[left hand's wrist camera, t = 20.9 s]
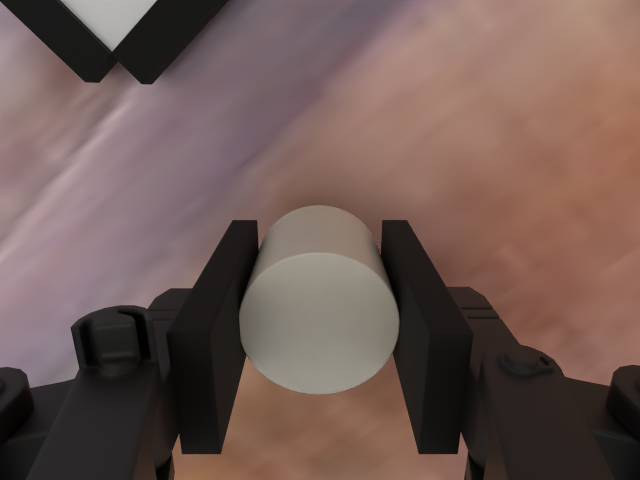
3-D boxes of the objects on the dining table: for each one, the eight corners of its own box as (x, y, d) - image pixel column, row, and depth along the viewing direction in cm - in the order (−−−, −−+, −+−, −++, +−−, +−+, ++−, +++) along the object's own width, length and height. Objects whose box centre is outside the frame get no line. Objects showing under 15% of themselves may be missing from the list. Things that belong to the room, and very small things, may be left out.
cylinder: (393, 296, 15) (418, 370, 11) (284, 330, 16) (272, 412, 12) (358, 187, 14) (372, 230, 10) (240, 227, 14) (211, 283, 11)
